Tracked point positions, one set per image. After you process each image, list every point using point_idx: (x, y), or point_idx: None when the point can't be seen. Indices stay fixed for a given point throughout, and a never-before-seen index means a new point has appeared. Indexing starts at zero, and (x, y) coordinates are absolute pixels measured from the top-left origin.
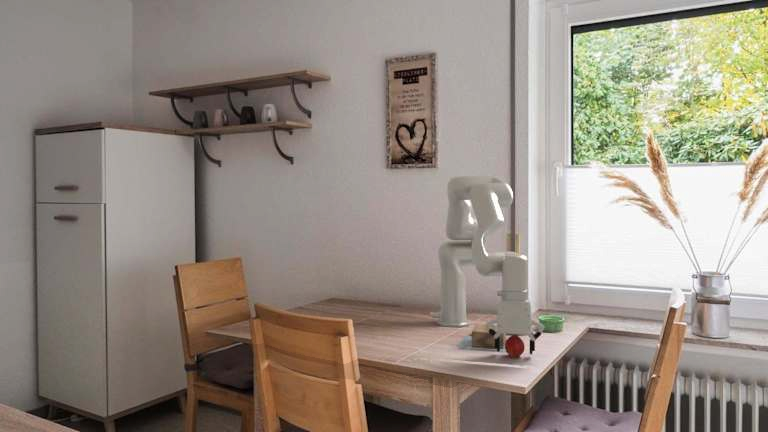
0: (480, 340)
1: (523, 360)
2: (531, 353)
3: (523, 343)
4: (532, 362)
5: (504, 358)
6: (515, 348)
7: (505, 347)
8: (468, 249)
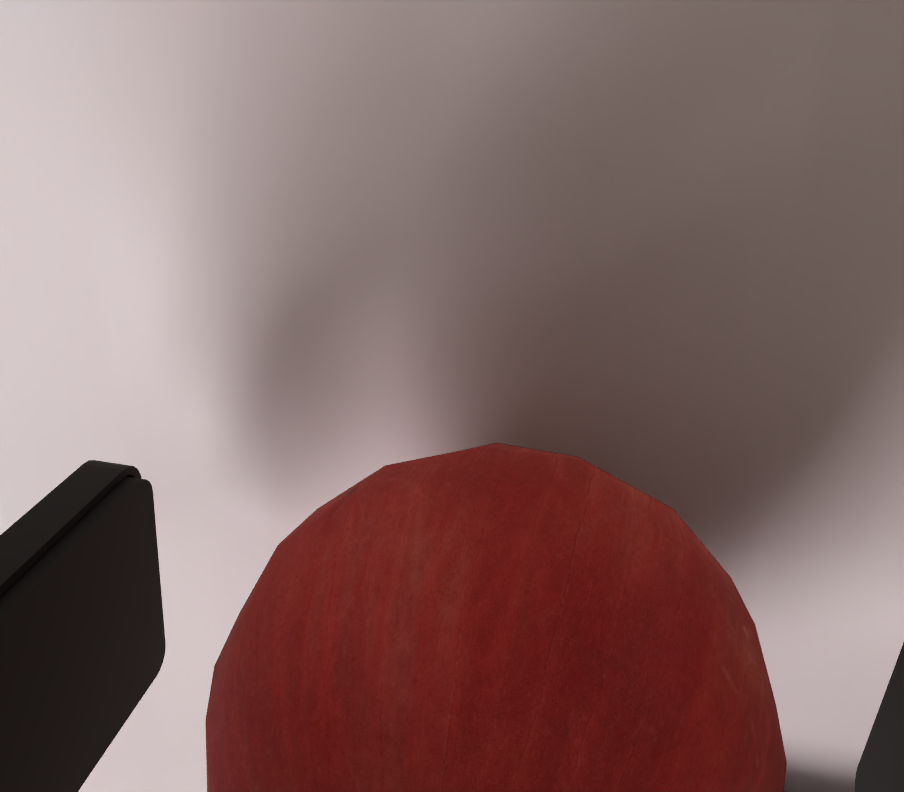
0: None
1: (346, 451)
2: (97, 464)
3: (206, 746)
4: (166, 340)
5: (737, 546)
6: (466, 495)
7: (766, 669)
8: None
